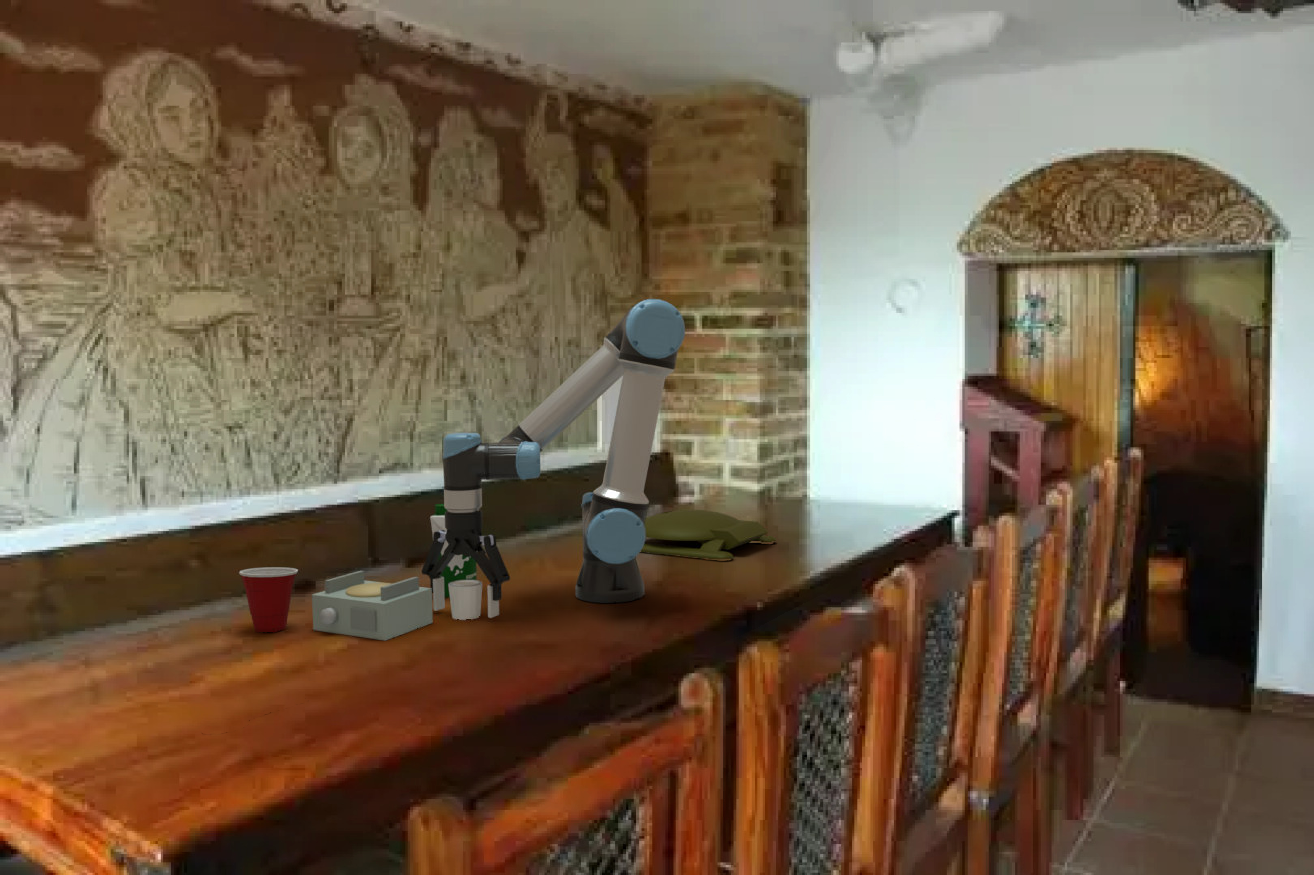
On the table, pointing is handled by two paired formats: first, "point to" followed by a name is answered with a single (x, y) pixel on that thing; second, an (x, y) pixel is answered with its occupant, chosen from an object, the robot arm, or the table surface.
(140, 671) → the table surface
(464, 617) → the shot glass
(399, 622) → the portable stove
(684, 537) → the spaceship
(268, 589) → the plastic cup
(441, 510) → the milk carton
